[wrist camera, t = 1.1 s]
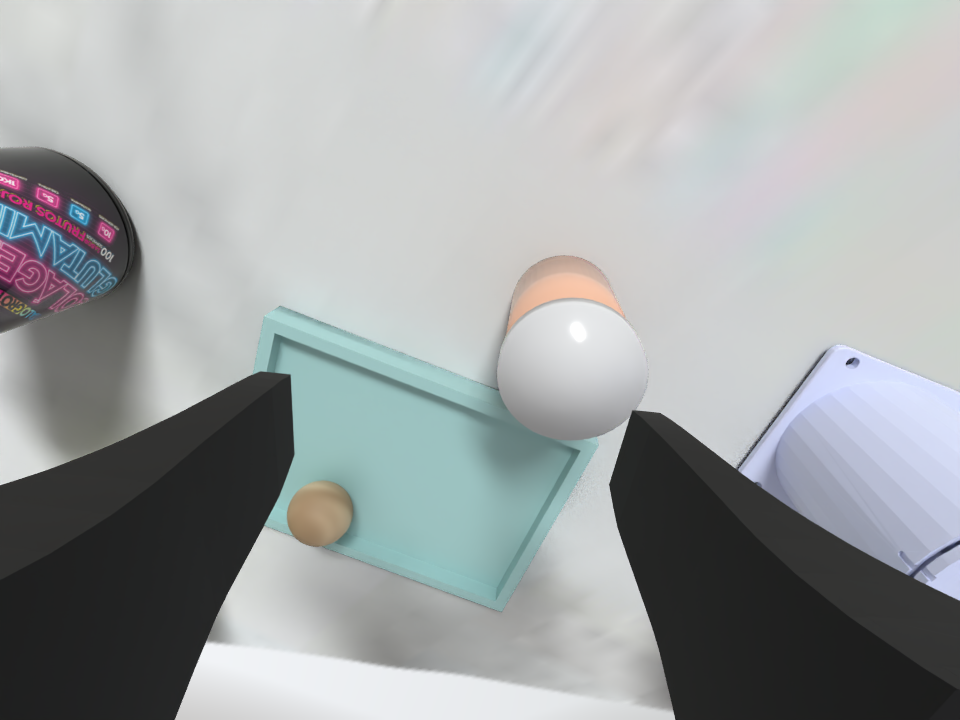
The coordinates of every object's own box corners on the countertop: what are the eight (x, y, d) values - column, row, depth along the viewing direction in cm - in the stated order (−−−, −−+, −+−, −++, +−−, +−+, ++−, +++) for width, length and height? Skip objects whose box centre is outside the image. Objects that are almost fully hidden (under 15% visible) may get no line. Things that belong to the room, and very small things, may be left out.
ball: (368, 480, 26) (347, 523, 24) (353, 524, 28) (331, 569, 25) (310, 459, 26) (281, 499, 23) (298, 503, 28) (269, 547, 25)
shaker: (635, 277, 21) (677, 340, 15) (587, 368, 23) (605, 460, 17) (534, 236, 21) (531, 282, 14) (494, 331, 23) (475, 410, 16)
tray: (595, 428, 24) (598, 445, 23) (503, 589, 29) (501, 612, 28) (280, 305, 24) (264, 316, 22) (240, 493, 29) (225, 511, 27)
